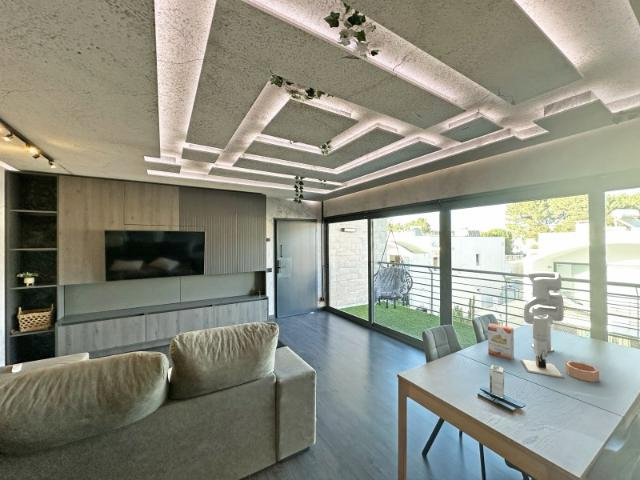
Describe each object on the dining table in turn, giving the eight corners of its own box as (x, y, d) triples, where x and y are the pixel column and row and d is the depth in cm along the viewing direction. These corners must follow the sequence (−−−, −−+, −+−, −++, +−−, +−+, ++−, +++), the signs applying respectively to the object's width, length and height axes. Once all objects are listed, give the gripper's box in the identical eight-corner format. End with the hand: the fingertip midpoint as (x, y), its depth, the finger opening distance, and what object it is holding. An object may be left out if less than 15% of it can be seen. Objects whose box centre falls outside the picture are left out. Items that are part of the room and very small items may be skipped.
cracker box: (487, 353, 186) (487, 324, 186) (491, 351, 189) (490, 322, 189) (511, 360, 174) (510, 329, 175) (514, 358, 178) (513, 327, 178)
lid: (522, 360, 173) (521, 350, 173) (553, 365, 166) (552, 354, 166) (528, 371, 158) (528, 360, 158) (562, 377, 151) (562, 365, 151)
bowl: (563, 369, 162) (563, 359, 162) (591, 374, 156) (591, 364, 156) (572, 379, 150) (571, 369, 150) (602, 384, 144) (602, 374, 145)
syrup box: (491, 391, 140) (490, 364, 140) (504, 395, 136) (504, 367, 136) (489, 396, 135) (489, 368, 135) (503, 400, 131) (503, 371, 131)
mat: (519, 360, 174) (519, 360, 174) (554, 366, 166) (554, 365, 166) (526, 373, 158) (526, 372, 158) (565, 380, 150) (565, 379, 150)
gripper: (529, 331, 171) (529, 359, 171) (536, 340, 156) (537, 370, 156) (543, 333, 168) (544, 361, 168) (553, 342, 153) (553, 373, 153)
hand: (541, 365), depth 162 cm, fingers closed on lid, 4 cm apart
